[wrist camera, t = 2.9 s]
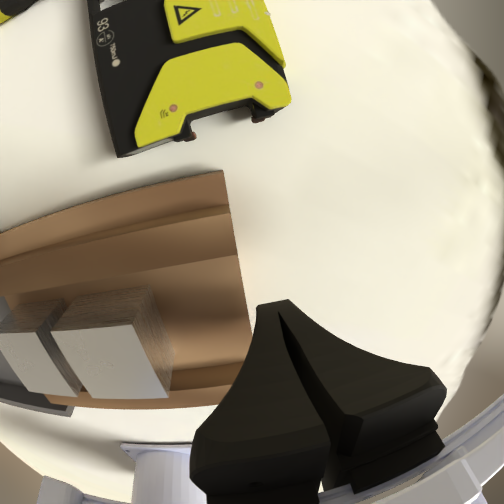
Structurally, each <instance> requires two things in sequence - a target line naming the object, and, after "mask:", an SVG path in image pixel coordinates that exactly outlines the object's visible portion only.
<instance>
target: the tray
mask: <svg viewBox="0 0 504 504" xmlns="http://www.w3.org/2000/svg"><path fill="white" fill-rule="evenodd" d="M10 312H11V310H10V308H9V305H8V303H7V301H6V299H5V297H4V296H1V297H0V323H1V321H2V320H3V319H4V318H5V317H6V316H7V315H8V314H9V313H10ZM0 402H2V403H6V404H9V405H13V406H17V407H21V408H25V409H29V410H33V411H38V412H43V413H48V414H54V415H60V416H66V417H71V415H72V412H73V410H74V407H75V406H68V405H60V404H53V403H50V401H49V400H48V399H47V398H46V396H45V395H44V394H43V393H36V392H30V391H28V390H27V388H26V387H25V386H24V384H23V383H22V382H21V380H20V379H19V378H18V376H17V375H16V373H15V372H14V370H13V369H12V367H11V366H10V364H9V363H8V361H7V360H6V358H5V357H4V355H3V354H2V352H1V350H0Z"/></svg>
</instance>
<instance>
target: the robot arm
mask: <svg viewBox="0 0 504 504" xmlns="http://www.w3.org/2000/svg"><path fill="white" fill-rule="evenodd" d="M446 394H447V389H446V387H445V386H444V384H443V383H442V382H441V380H440V379H439V378H438V376H437V375H436V374H435V373H434V372H433V371H432V370H431V369H430V368H429V367H424V366H418V365H412V364H406V363H402V362H398V361H394V360H390V359H387V358H383V357H380V356H377V355H375V354H372V353H369V352H367V351H364V350H362V349H360V348H357V347H355V346H353V345H351V344H349V343H347V342H345V341H343V340H341V339H340V338H338V337H336V336H335V335H333V334H332V333H330V332H329V331H327V330H326V329H324V328H323V327H321V326H320V325H319V324H317V323H316V322H315V321H313V320H312V319H311V318H310V317H308V316H307V315H306V314H305V313H304V312H302V311H301V310H300V309H299V308H298V307H297V306H296V305H295V304H293V303H292V302H291V301H290V300H289V299H287V300H282V301H277V302H271V303H266V304H261V305H258V306H257V307H256V323H255V328H254V333H253V337H252V341H251V344H250V347H249V350H248V353H247V355H246V358H245V360H244V363H243V365H242V367H241V369H240V371H239V373H238V375H237V377H236V379H235V381H234V382H233V384H232V386H231V387H230V389H229V391H228V392H227V394H226V395H225V396H224V398H223V399H222V401H221V402H220V403H219V405H218V406H217V407H216V409H215V410H214V411H213V412H212V414H211V415H210V416H209V417H208V418H207V419H206V420H205V421H204V422H203V423H202V425H201V426H200V427H199V428H198V429H197V430H196V432H195V435H194V439H193V442H192V444H185V445H146V444H127V443H122V444H121V445H120V448H121V449H122V450H123V451H124V452H125V453H126V454H127V455H129V456H130V457H131V458H132V459H133V460H134V461H135V462H136V466H135V474H134V482H133V491H132V500H131V503H125V502H119V501H114V500H109V499H105V498H100V497H96V496H92V495H88V494H84V493H82V491H80V490H79V489H77V488H76V487H74V486H72V485H70V484H68V483H65V482H62V481H59V480H56V479H54V478H51V477H48V476H43V480H42V484H41V487H40V491H39V495H38V500H37V504H355V503H358V502H360V501H363V500H366V499H368V498H371V497H373V496H376V495H378V494H380V493H383V492H385V491H387V490H390V489H392V488H394V487H396V486H398V485H400V484H402V483H404V482H406V481H408V480H410V479H412V478H414V477H416V476H417V475H419V474H421V473H423V472H425V471H426V472H425V473H424V474H423V476H422V477H421V478H420V479H419V480H418V481H417V482H416V483H415V484H413V485H411V486H409V487H407V488H405V489H403V490H401V491H399V492H396V493H394V494H392V495H390V496H387V497H385V498H383V499H380V500H378V501H376V502H373V503H371V504H487V502H486V500H485V498H484V496H483V494H482V493H481V491H482V486H483V485H484V484H485V483H486V482H487V481H488V480H489V479H490V478H491V477H493V476H494V474H496V473H497V472H498V471H499V470H500V469H501V468H502V467H503V466H504V394H503V395H502V396H500V397H499V398H498V399H497V400H496V401H495V402H494V403H492V404H491V405H490V406H489V407H487V408H486V409H485V410H484V411H483V412H481V413H480V414H479V415H477V416H476V417H475V418H473V419H472V420H471V421H469V422H468V423H467V424H465V425H464V426H463V427H461V428H460V429H458V430H457V431H455V432H453V433H452V434H450V435H449V436H447V437H446V438H444V439H443V440H441V439H440V437H439V435H438V434H437V432H436V431H435V430H437V428H438V425H437V423H436V421H435V420H434V417H435V416H436V414H437V412H438V411H439V409H440V407H441V406H442V404H443V402H444V400H445V398H446ZM430 468H431V469H430ZM428 469H429V470H428ZM427 470H428V471H427ZM321 481H322V486H323V490H324V492H321V493H318V491H319V486H320V482H321Z"/></svg>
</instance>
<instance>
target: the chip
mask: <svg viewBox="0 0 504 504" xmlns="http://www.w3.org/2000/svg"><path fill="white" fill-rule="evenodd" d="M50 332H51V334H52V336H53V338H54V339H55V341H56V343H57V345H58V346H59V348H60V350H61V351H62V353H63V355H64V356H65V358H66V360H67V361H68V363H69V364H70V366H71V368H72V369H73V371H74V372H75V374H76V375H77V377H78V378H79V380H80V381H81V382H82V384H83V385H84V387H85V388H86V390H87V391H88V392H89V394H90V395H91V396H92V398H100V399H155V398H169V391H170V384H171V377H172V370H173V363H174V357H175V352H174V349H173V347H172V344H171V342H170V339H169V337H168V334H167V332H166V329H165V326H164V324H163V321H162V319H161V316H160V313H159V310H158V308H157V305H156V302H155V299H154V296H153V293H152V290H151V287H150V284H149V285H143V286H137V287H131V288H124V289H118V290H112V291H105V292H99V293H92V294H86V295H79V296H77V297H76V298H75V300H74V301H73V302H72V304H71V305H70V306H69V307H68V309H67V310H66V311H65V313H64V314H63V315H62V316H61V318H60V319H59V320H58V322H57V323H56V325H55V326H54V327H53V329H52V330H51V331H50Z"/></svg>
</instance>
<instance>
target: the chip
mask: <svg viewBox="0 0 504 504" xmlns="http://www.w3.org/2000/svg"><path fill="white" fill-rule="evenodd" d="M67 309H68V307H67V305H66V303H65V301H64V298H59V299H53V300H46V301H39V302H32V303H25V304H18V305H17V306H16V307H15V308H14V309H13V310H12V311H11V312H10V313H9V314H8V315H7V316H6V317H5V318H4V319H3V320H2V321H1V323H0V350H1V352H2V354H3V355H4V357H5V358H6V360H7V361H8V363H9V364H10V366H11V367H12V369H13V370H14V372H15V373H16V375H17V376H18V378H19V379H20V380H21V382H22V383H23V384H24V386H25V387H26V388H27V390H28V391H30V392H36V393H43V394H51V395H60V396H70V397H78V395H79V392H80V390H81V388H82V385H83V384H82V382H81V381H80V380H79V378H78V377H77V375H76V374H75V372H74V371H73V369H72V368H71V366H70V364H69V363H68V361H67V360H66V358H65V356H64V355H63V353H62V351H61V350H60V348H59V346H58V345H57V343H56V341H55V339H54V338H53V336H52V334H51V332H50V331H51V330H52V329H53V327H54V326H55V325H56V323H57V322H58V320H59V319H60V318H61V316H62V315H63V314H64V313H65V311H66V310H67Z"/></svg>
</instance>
